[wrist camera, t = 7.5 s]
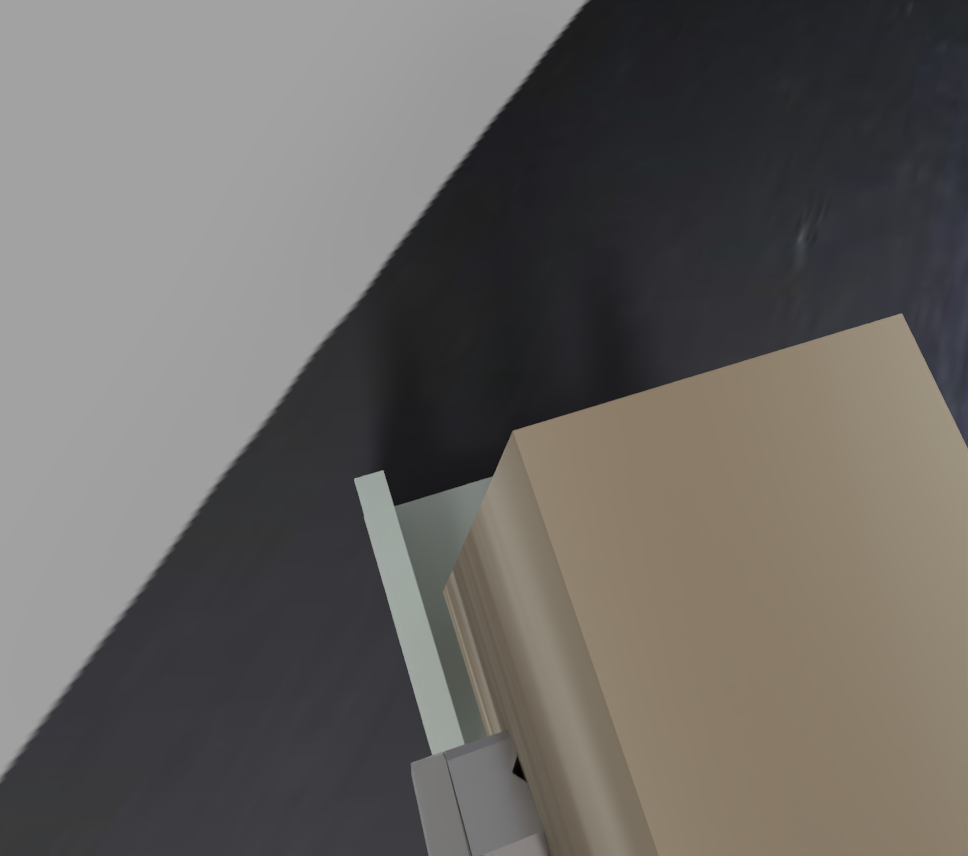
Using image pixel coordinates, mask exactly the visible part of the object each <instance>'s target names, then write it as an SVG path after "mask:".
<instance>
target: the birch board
mask: <svg viewBox="0 0 968 856" xmlns="http://www.w3.org/2000/svg"><path fill="white" fill-rule="evenodd" d="M443 593H444V596H445V600H446V603H447V606H448V610H449V613H450V616H451V619H452V623H453V626H454V629H455V632H456V636H457V639H458V642H459V646H460V649H461V652H462V655H463V659H464V662H465V665H466V668H467V672H468V675H469V678H470V682H471V685H472V688H473V691H474V695H475V698H476V701H477V704H478V708H479V711H480V714H481V717H482V721H483V724H484V727H485V731H486V734H487V736H490V735H493V734H496V733H499V732H502V731H505V730H508V731H509V734H510V736H511V738H512V741H513V744H514V747H515V749H516V752H517V755H518V759H519V763H520V767H521V771H522V775H523V779H524V781H525V782H527V783H528V785H529V788H530V791H531V794H532V797H533V799H534V802H535V805H536V808H537V810H538V813H539V816H540V819H541V822H542V824H543V827H544V830H545V834H546V838H547V842H548V847H549V851H550V855H551V856H968V448H967V446H966V444H965V442H964V440H963V438H962V436H961V434H960V432H959V430H958V428H957V426H956V424H955V422H954V419H953V417H952V415H951V413H950V411H949V409H948V407H947V405H946V403H945V401H944V399H943V397H942V395H941V393H940V391H939V389H938V387H937V385H936V382H935V380H934V378H933V376H932V374H931V372H930V370H929V368H928V366H927V364H926V362H925V360H924V358H923V356H922V354H921V352H920V350H919V348H918V345H917V343H916V341H915V339H914V337H913V335H912V333H911V331H910V329H909V327H908V325H907V323H906V321H905V319H904V317H903V315H902V314H898V315H895V316H892V317H888V318H885V319H882V320H878V321H875V322H872V323H868V324H865V325H862V326H859V327H855V328H852V329H849V330H845V331H842V332H839V333H835V334H832V335H829V336H825V337H822V338H819V339H815V340H812V341H809V342H806V343H802V344H799V345H796V346H792V347H789V348H786V349H782V350H779V351H776V352H772V353H769V354H766V355H762V356H759V357H756V358H753V359H749V360H746V361H743V362H739V363H736V364H733V365H729V366H726V367H723V368H719V369H716V370H713V371H709V372H706V373H703V374H700V375H696V376H693V377H690V378H686V379H683V380H680V381H676V382H673V383H670V384H666V385H663V386H660V387H656V388H653V389H650V390H647V391H643V392H640V393H637V394H633V395H630V396H627V397H623V398H620V399H617V400H613V401H610V402H607V403H603V404H600V405H597V406H594V407H590V408H587V409H584V410H580V411H577V412H574V413H570V414H567V415H564V416H560V417H557V418H554V419H550V420H547V421H544V422H541V423H537V424H534V425H531V426H527V427H524V428H521V429H517V430H514V431H513V432H512V434H511V436H510V438H509V441H508V443H507V445H506V448H505V450H504V452H503V455H502V457H501V459H500V461H499V464H498V466H497V468H496V471H495V473H494V475H493V478H492V480H491V482H490V485H489V487H488V489H487V491H486V494H485V496H484V498H483V501H482V503H481V505H480V508H479V510H478V512H477V514H476V517H475V519H474V521H473V524H472V526H471V528H470V531H469V533H468V535H467V538H466V540H465V542H464V544H463V547H462V549H461V551H460V554H459V556H458V558H457V561H456V563H455V565H454V567H453V570H452V572H451V574H450V577H449V579H448V581H447V584H446V586H445V588H444V591H443Z"/></svg>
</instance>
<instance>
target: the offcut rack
mask: <svg viewBox="0 0 968 856" xmlns="http://www.w3.org/2000/svg"><path fill="white" fill-rule="evenodd" d="M492 478H493V477H489V478H486V479H483V480H479V481H476V482H473V483H470V484H466V485H463V486H460V487H457V488H453V489H450V490H447V491H444V492H440V493H437V494H434V495H430V496H427V497H424V498H421V499H417V500H414V501H411V502H408V503H404V504H401V505H398V506H395V507H394V504H393V501H392V498H391V494H390V491H389V488H388V484H387V481H386V477H385V474H384V471H383V470H382V471H379V472H375V473H372V474H369V475H365V476H362V477H359V478H355V479H354V481H355V484H356V488H357V491H358V495H359V498H360V502H361V505H362V509H363V512H364V519H365V522H366V526H367V529H368V533H369V536H370V540H371V543H372V547H373V550H374V553H375V557H376V560H377V564H378V567H379V571H380V574H381V578H382V581H383V585H384V588H385V592H386V595H387V599H388V602H389V606H390V609H391V613H392V616H393V620H394V623H395V627H396V630H397V634H398V637H399V641H400V644H401V648H402V651H403V655H404V658H405V662H406V665H407V669H408V672H409V676H410V679H411V683H412V686H413V690H414V693H415V697H416V700H417V704H418V707H419V711H420V714H421V718H422V721H423V725H424V728H425V732H426V735H427V739H428V742H429V745H430V749H431V752H432V755H434V754H437V753H440V752H443V751H444V752H445V751H447V750H450V749H453V748H455V747H458V746H461V745H464V744H467V743H470V742H473V741H476V740H479V739H481V738H484V737H487V734H486V731H485V727H484V724H483V721H482V717H481V714H480V711H479V708H478V704H477V701H476V698H475V695H474V691H473V688H472V685H471V682H470V678H469V675H468V672H467V668H466V665H465V662H464V659H463V655H462V652H461V649H460V646H459V642H458V639H457V636H456V632H455V629H454V626H453V623H452V619H451V616H450V613H449V610H448V606H447V603H446V600H445V596H444V593H443V591H444V588H445V586H446V584H447V581H448V579H449V577H450V574H451V572H452V570H453V567H454V565H455V563H456V561H457V558H458V556H459V554H460V551H461V549H462V547H463V544H464V542H465V540H466V538H467V535H468V533H469V531H470V528H471V526H472V524H473V521H474V519H475V517H476V514H477V512H478V510H479V508H480V505H481V503H482V501H483V498H484V496H485V494H486V491H487V489H488V487H489V485H490V482H491V480H492ZM445 755H446V754H445Z"/></svg>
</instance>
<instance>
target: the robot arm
mask: <svg viewBox="0 0 968 856" xmlns="http://www.w3.org/2000/svg"><path fill="white" fill-rule="evenodd" d="M445 754H446V755H445ZM411 771H412V779H413V784H414V788H415V793H416V798H417V803H418V807H419V812H420V817H421V822H422V826H423V831H424V836H425V840H426V845H427V850H428V855H429V856H551V855H550V851H549V847H548V842H547V838H546V834H545V830H544V827H543V824H542V822H541V819H540V816H539V813H538V810H537V808H536V805H535V802H534V799H533V797H532V794H531V791H530V788H529V785H528V783H527V782H525V781H524V779H523V775H522V771H521V767H520V763H519V759H518V755H517V752H516V749H515V747H514V744H513V741H512V738H511V736H510V734H509V731H508V730H505V731H502V732H499V733H496V734H493V735H490V736H487V737H484V738H481V739H479V740H476V741H473V742H470V743H467V744H464V745H461V746H458V747H455V748H453V749H450V750H447V751H445V752H444V751H443V752H440V753H437V754H434V755H432V756H429V757H426V758H423V759H421V760H418V761H415V762H412V763H411Z"/></svg>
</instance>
